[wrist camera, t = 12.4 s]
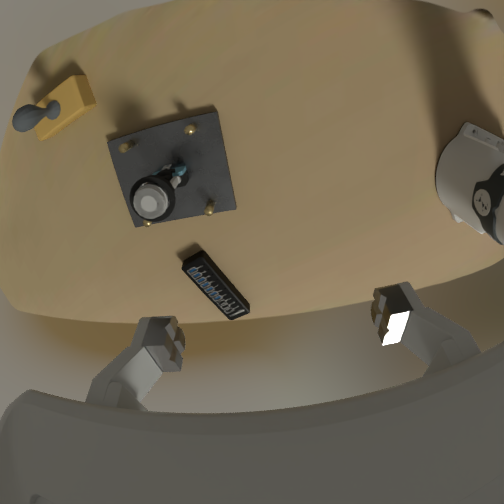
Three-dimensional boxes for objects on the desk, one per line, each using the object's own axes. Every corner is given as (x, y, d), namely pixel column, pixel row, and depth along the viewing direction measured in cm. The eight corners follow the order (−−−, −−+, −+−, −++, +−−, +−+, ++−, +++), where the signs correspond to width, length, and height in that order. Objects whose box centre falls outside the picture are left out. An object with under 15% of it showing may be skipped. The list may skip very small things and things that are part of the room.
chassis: (217, 111, 32) (214, 113, 29) (236, 206, 40) (235, 217, 37) (110, 140, 33) (98, 146, 30) (137, 224, 41) (129, 235, 38)
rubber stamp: (52, 136, 31) (3, 160, 21) (41, 107, 28) (-10, 124, 18) (97, 105, 30) (47, 118, 20) (85, 73, 27) (33, 77, 17)
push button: (150, 196, 37) (124, 231, 29) (140, 162, 34) (109, 188, 26) (193, 188, 37) (178, 222, 28) (185, 152, 34) (165, 175, 26)
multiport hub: (203, 248, 44) (201, 256, 42) (250, 303, 51) (250, 312, 49) (182, 259, 45) (180, 268, 43) (230, 312, 52) (230, 321, 50)
